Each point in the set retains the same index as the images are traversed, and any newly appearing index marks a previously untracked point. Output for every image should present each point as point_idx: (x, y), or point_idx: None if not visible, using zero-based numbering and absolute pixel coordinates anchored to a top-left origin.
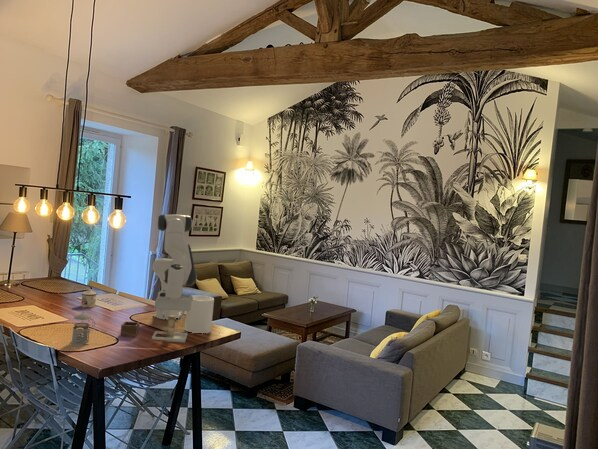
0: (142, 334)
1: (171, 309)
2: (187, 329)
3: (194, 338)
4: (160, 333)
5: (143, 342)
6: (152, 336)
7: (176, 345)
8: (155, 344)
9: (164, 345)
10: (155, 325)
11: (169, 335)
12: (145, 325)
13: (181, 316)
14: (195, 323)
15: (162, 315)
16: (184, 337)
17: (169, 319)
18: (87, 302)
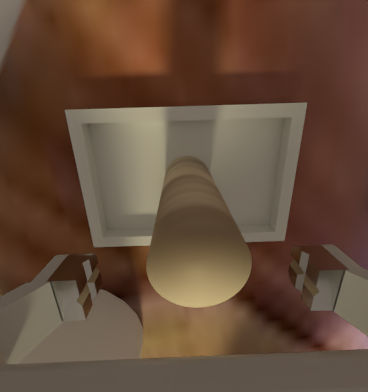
0: (344, 215)
1: (247, 369)
2: (117, 310)
3: (49, 207)
4: (251, 227)
5: (346, 50)
6: (303, 119)
7: (114, 24)
8: (263, 16)
9: (197, 3)
10: (280, 350)
11: (189, 159)
12: (324, 342)
13: (49, 270)
14: (46, 337)
15: (344, 255)
16: (82, 146)
17: (220, 211)
18: None
